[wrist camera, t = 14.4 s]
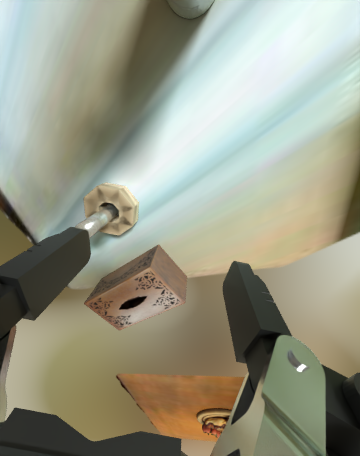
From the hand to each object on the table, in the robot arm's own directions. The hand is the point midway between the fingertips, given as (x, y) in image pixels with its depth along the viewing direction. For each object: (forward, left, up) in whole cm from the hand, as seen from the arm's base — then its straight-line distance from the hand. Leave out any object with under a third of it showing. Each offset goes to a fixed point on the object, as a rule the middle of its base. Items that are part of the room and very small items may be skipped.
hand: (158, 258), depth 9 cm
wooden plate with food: (+142, +51, -32) cm, 154 cm away
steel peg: (+11, -17, -31) cm, 37 cm away
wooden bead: (+11, -17, -31) cm, 37 cm away
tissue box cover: (+35, -8, -32) cm, 48 cm away
